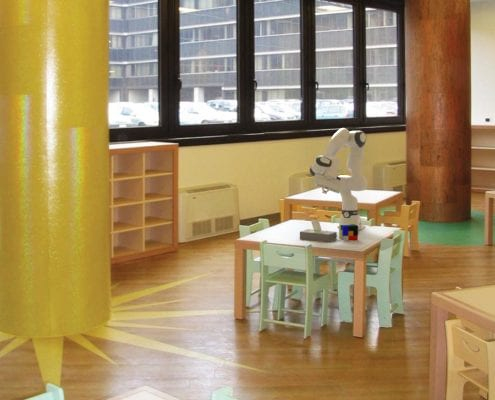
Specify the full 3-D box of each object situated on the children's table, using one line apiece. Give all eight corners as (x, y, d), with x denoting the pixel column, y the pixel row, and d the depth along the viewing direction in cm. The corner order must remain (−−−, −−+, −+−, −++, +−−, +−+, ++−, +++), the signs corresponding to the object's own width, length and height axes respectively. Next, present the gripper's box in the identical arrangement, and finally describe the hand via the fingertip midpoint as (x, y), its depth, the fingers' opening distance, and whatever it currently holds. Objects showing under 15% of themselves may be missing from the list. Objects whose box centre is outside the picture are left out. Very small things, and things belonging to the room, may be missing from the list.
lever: (314, 229, 569) (310, 214, 562) (322, 229, 566) (318, 215, 559) (313, 231, 567) (308, 216, 560) (321, 232, 564) (316, 217, 557)
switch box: (307, 236, 578) (307, 228, 578) (336, 239, 567) (336, 231, 567) (299, 238, 568) (299, 231, 568) (328, 241, 557) (329, 234, 556)
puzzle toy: (343, 241, 561) (343, 226, 560) (339, 238, 571) (339, 224, 570) (357, 240, 563) (358, 225, 562) (353, 237, 573) (353, 223, 572)
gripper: (316, 169, 578) (311, 185, 571) (344, 180, 578) (339, 195, 570) (314, 174, 583) (309, 190, 576) (341, 184, 583) (336, 200, 576)
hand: (324, 193), depth 573 cm, fingers closed
